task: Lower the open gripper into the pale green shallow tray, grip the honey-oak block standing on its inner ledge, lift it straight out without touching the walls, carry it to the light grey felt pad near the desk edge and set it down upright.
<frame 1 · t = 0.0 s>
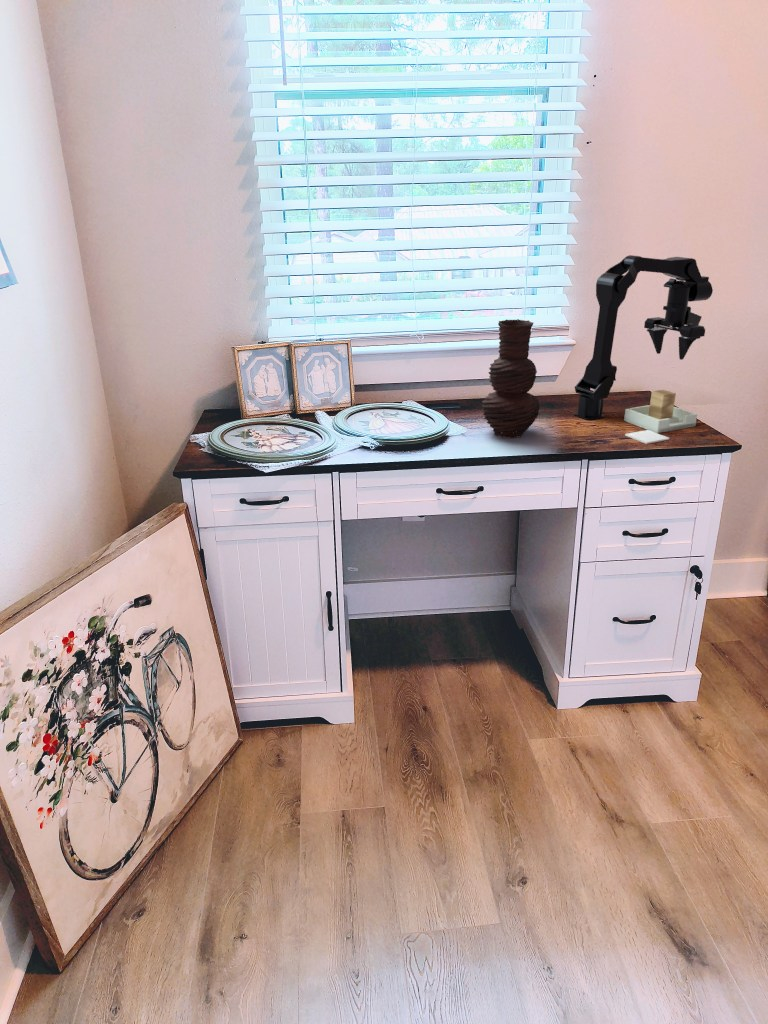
hand: (669, 356, 226), 15 cm above the table, fingers open, 9 cm apart
oak block: (660, 416, 213), point 2 cm above the table, touching pale green shallow tray
pale green shallow tray: (659, 423, 214), on the table
vase: (508, 434, 207), on the table
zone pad: (646, 437, 203), on the table
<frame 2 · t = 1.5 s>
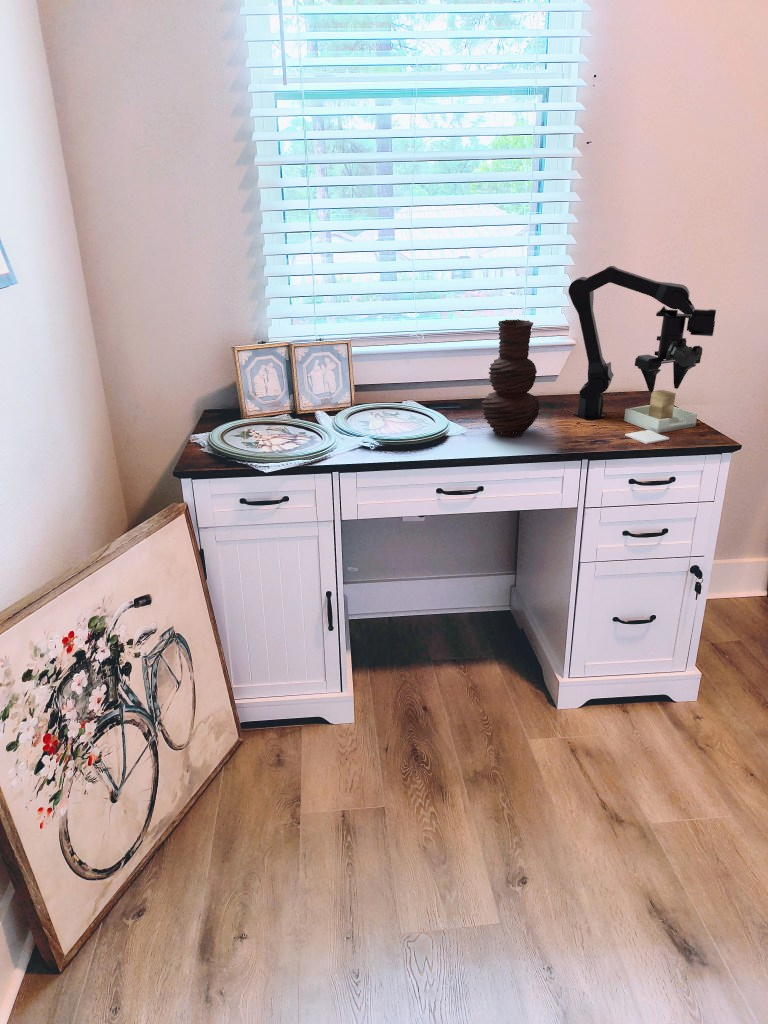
hand: (663, 390, 210), 10 cm above the table, fingers open, 9 cm apart
nothing on the table moved.
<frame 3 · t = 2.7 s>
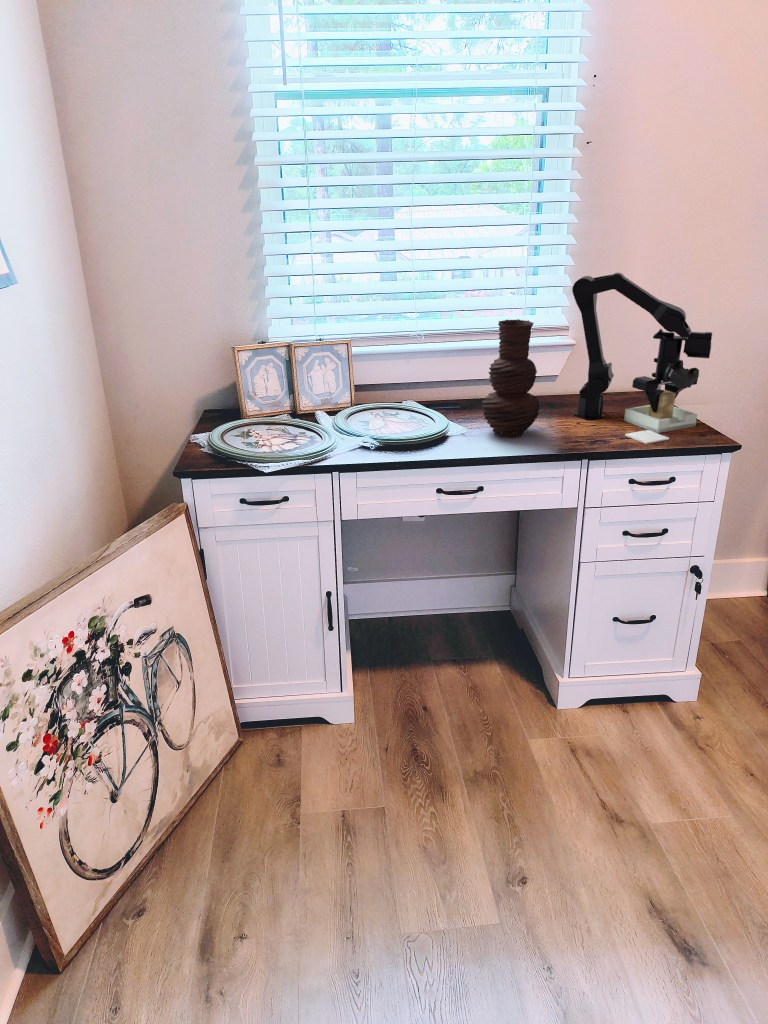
hand: (661, 411, 212), 4 cm above the table, fingers closed on oak block, 4 cm apart
oak block: (660, 416, 213), point 2 cm above the table, touching gripper, pale green shallow tray
everything else where it was.
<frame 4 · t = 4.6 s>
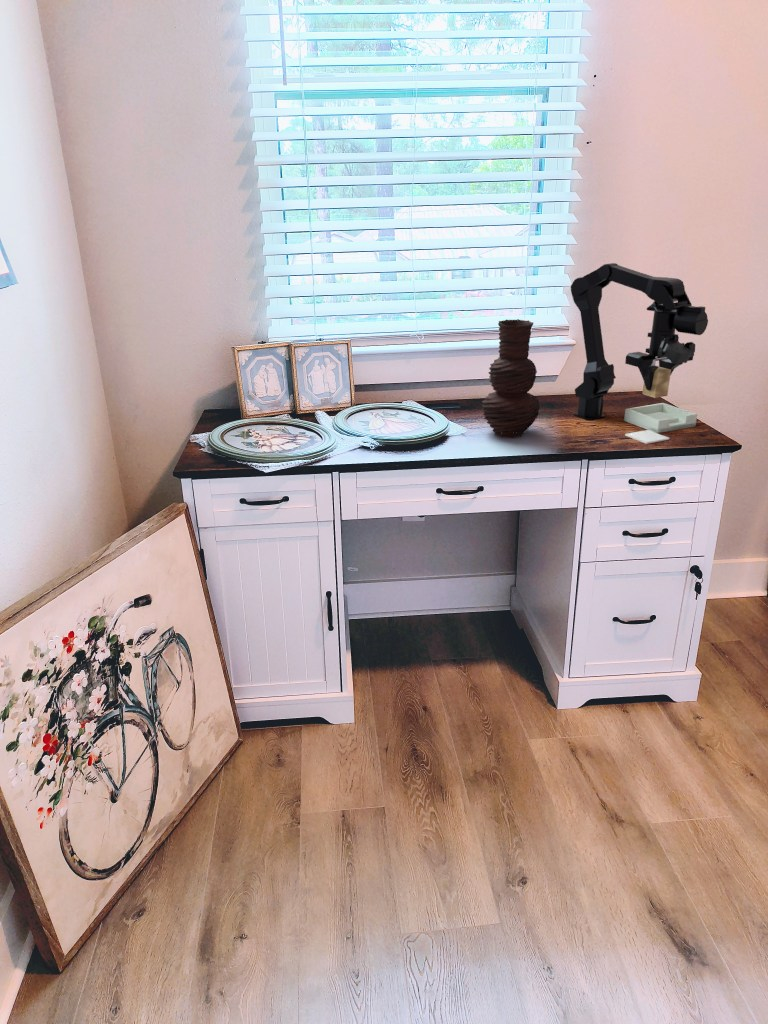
hand: (655, 388, 202), 12 cm above the table, fingers closed on oak block, 4 cm apart
oak block: (654, 394, 202), point 10 cm above the table, touching gripper
everything else where it was.
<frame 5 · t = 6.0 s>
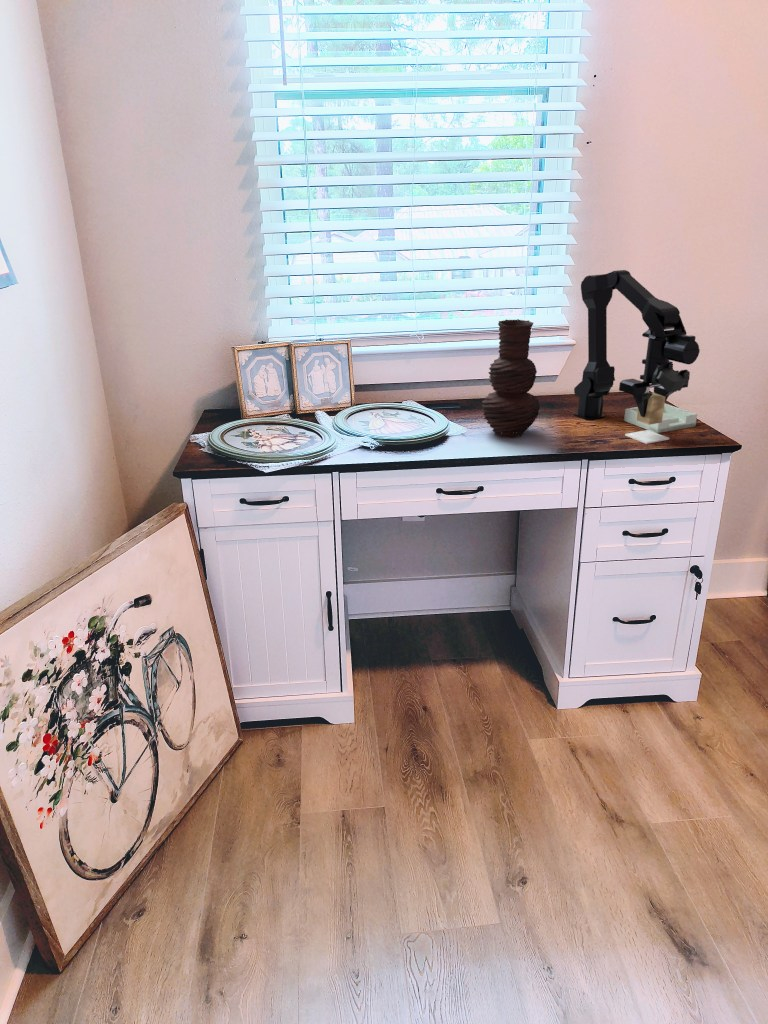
hand: (649, 415, 200), 6 cm above the table, fingers closed on oak block, 4 cm apart
oak block: (649, 421, 201), point 4 cm above the table, touching gripper
everything else where it was.
when the fingers open (4 cm above the table, at t = 6.8 s): oak block drops 2 cm, resting on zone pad.
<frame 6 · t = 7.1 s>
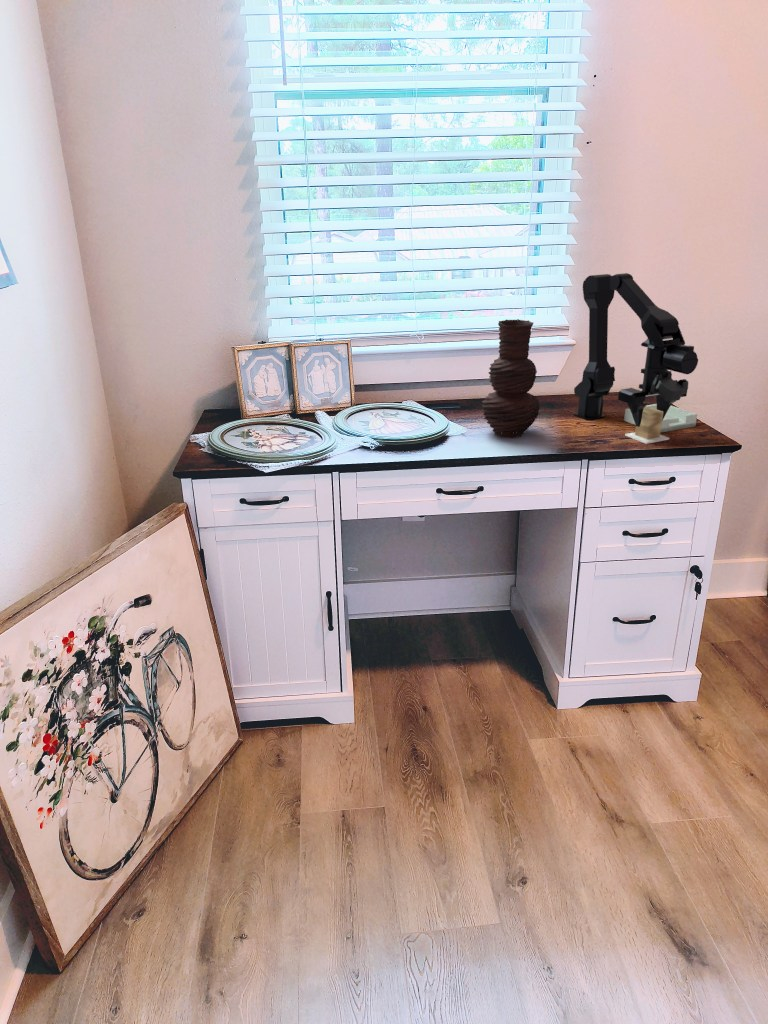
hand: (648, 424, 201), 4 cm above the table, fingers open, 7 cm apart
oak block: (647, 436, 202), resting on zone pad
everything else where it was.
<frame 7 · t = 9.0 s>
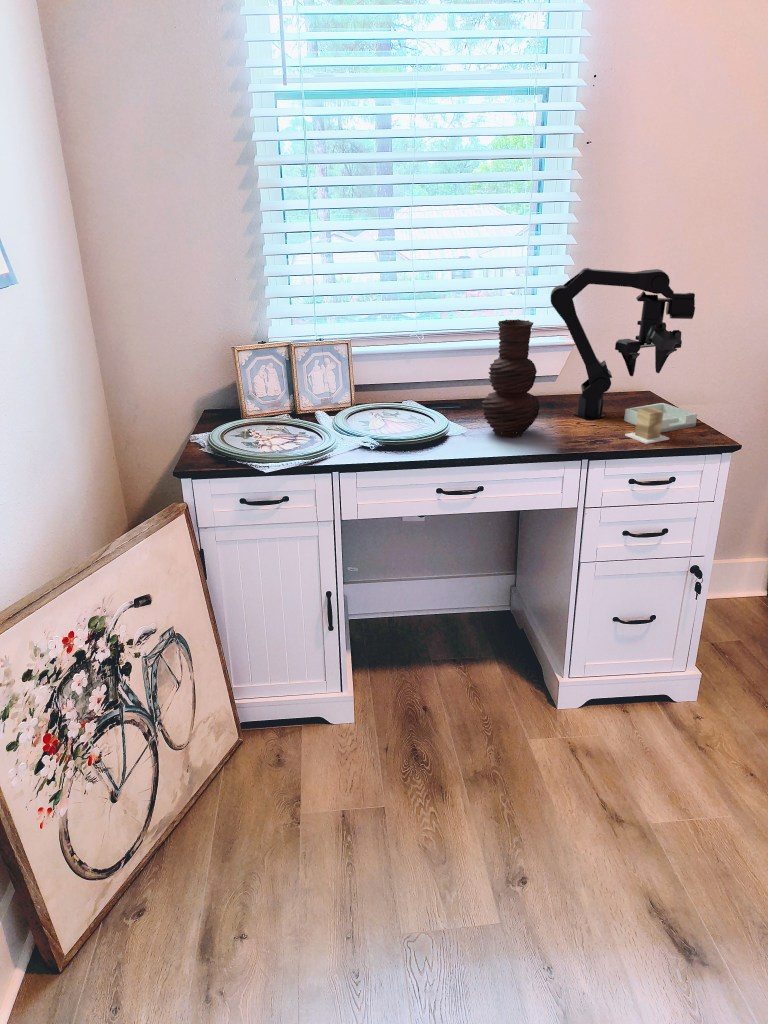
hand: (644, 374, 213), 13 cm above the table, fingers open, 9 cm apart
nothing on the table moved.
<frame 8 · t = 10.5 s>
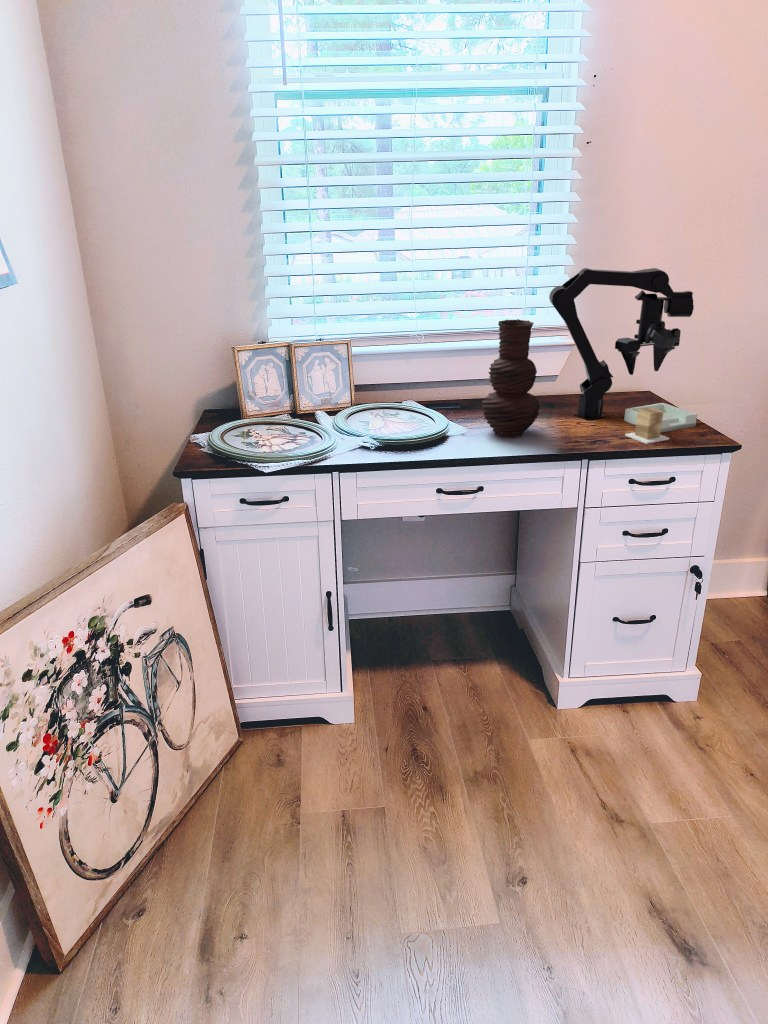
hand: (643, 372, 214), 13 cm above the table, fingers open, 9 cm apart
nothing on the table moved.
at the end: oak block inside the target area on the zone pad (0.0 cm from its centre), point 0.4 cm above the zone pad's base; oak block tilted 0°; oak block touching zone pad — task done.
